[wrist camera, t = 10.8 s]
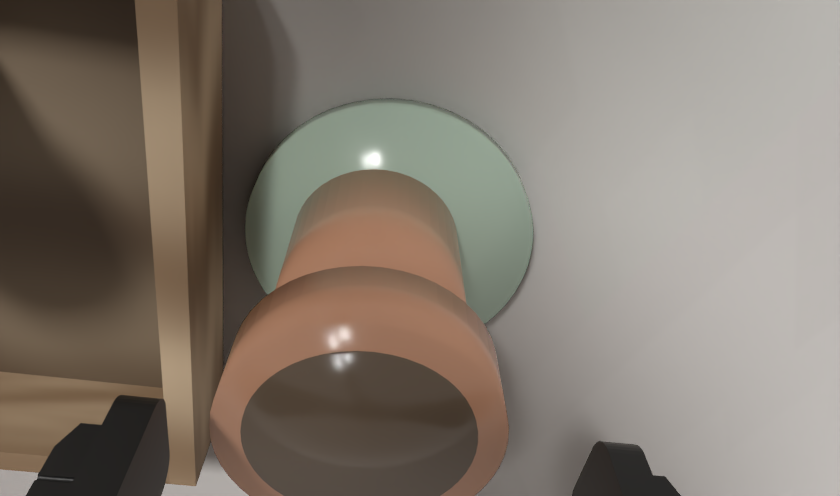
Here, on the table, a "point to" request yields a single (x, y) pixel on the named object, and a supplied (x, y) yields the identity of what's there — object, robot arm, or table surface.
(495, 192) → the saucer
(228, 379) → the terracotta pot
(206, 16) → the box
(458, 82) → the table surface
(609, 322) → the table surface
